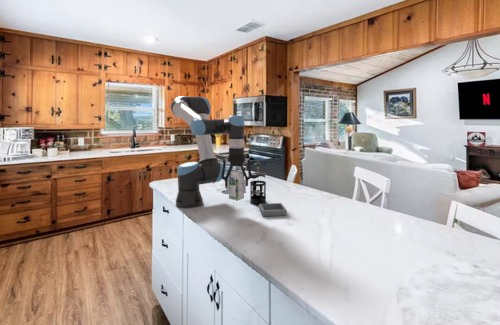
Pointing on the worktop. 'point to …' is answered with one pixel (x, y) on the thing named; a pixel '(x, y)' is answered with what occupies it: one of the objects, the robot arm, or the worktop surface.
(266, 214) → the tray
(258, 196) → the french press
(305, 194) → the worktop surface
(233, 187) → the syrup box
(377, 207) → the worktop surface
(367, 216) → the worktop surface
